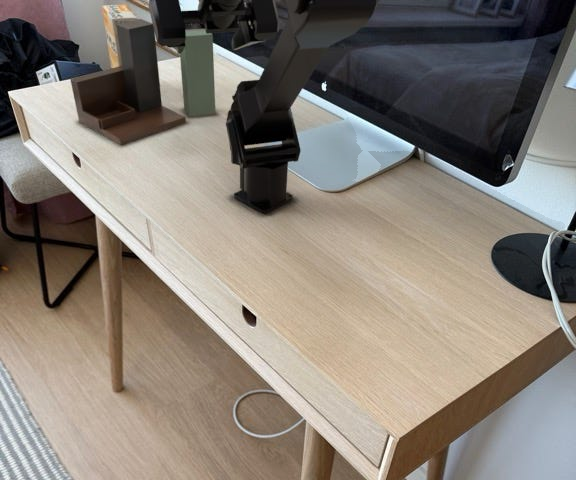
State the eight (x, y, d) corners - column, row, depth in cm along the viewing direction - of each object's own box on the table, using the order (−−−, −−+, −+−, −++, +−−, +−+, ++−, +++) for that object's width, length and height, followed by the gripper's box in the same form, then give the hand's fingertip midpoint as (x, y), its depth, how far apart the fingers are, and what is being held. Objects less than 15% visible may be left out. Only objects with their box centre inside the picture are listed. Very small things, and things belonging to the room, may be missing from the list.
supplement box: (112, 82, 112) (100, 4, 102) (136, 80, 114) (126, 3, 104) (122, 97, 107) (110, 17, 97) (147, 95, 109) (138, 16, 99)
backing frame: (186, 122, 101) (179, 33, 91) (119, 145, 93) (104, 51, 83) (144, 102, 106) (133, 15, 96) (78, 122, 99) (58, 30, 88)
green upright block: (215, 114, 104) (212, 34, 95) (189, 117, 103) (183, 36, 93) (210, 107, 106) (206, 28, 97) (184, 109, 105) (178, 29, 95)
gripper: (276, -77, 79) (248, -5, 94) (142, -77, 74) (136, 0, 88) (294, 5, 80) (264, 63, 95) (163, 11, 74) (153, 72, 89)
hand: (206, 48), depth 92 cm, fingers open, 9 cm apart
